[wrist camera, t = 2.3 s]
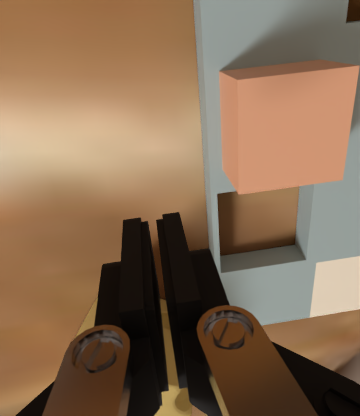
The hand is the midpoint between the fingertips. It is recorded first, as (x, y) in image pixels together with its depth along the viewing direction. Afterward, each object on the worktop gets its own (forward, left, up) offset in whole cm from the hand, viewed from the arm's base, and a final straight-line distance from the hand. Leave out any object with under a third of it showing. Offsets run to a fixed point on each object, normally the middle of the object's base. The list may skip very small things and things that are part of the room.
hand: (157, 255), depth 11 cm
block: (0, +9, -15) cm, 17 cm away
